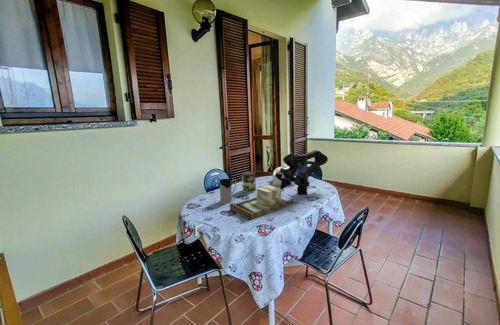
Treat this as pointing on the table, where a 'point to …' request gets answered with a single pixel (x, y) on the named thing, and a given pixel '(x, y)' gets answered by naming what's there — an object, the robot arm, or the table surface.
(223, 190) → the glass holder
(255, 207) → the trap lane
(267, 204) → the birch block
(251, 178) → the coffee can
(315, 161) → the robot arm
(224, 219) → the table surface
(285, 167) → the butter dish
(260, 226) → the table surface
